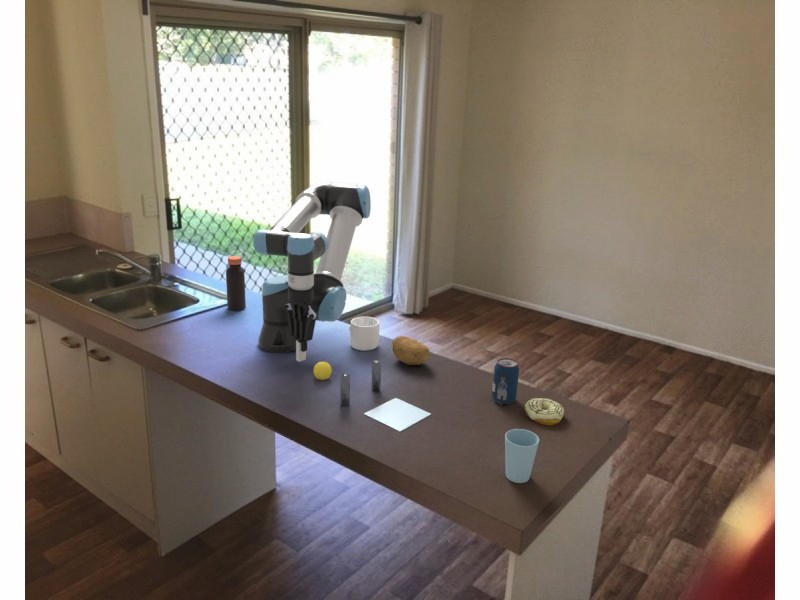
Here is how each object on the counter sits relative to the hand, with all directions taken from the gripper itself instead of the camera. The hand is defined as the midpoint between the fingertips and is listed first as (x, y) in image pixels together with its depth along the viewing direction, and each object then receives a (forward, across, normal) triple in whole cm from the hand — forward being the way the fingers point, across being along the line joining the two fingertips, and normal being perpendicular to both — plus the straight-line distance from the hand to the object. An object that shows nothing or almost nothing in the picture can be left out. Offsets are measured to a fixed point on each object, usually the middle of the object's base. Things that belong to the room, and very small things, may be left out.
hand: (301, 359), depth 200 cm
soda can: (+4, +55, +28) cm, 62 cm away
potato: (+3, +20, +28) cm, 35 cm away
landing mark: (+4, +39, 0) cm, 39 cm away
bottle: (+3, -59, +18) cm, 62 cm away
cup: (+4, +78, -2) cm, 78 cm away
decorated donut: (+4, +68, +28) cm, 74 cm away
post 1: (+4, +25, -6) cm, 26 cm away
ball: (+1, +9, 0) cm, 9 cm away
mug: (+3, 0, +28) cm, 29 cm away
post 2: (+3, +25, +7) cm, 26 cm away
